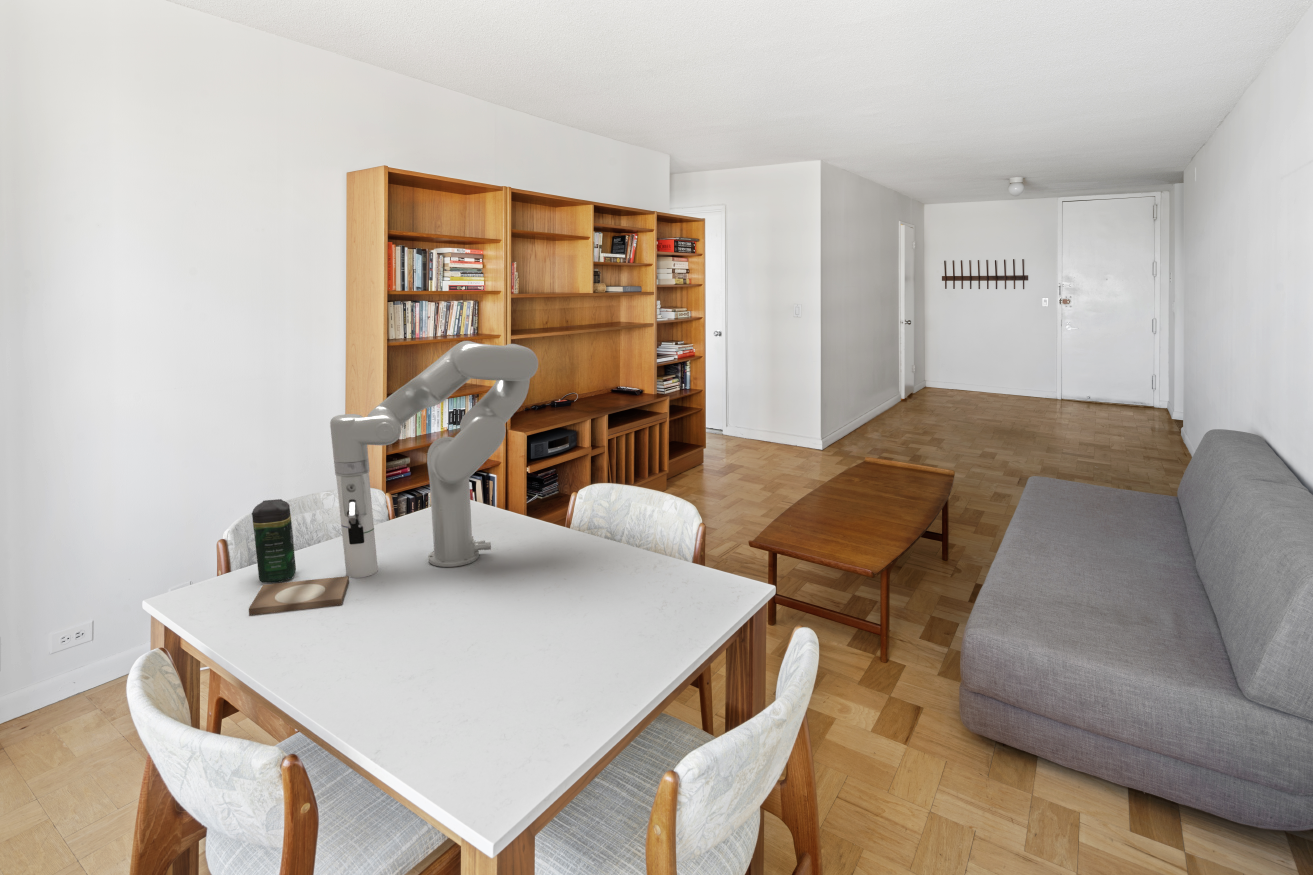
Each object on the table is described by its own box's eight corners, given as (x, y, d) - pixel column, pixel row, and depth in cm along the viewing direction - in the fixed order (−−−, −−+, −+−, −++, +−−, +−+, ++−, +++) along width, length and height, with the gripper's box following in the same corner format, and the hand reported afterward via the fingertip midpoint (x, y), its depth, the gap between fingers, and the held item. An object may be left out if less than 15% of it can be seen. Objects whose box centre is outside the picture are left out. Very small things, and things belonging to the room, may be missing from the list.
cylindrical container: (352, 566, 174) (342, 469, 168) (381, 565, 174) (372, 468, 169) (341, 578, 167) (331, 476, 161) (372, 576, 167) (363, 476, 162)
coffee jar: (295, 581, 165) (287, 506, 161) (257, 586, 162) (248, 510, 158) (298, 567, 173) (290, 495, 170) (262, 571, 170) (253, 498, 166)
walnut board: (349, 581, 164) (348, 575, 164) (341, 604, 152) (341, 598, 152) (263, 590, 159) (263, 584, 159) (249, 615, 147) (248, 608, 147)
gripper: (365, 474, 158) (372, 548, 161) (372, 457, 174) (378, 525, 178) (329, 477, 156) (337, 552, 159) (339, 459, 172) (346, 528, 176)
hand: (358, 537), depth 168 cm, fingers closed on cylindrical container, 7 cm apart
